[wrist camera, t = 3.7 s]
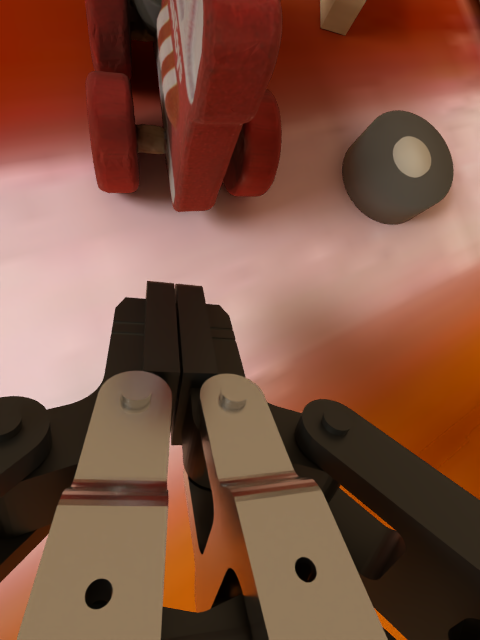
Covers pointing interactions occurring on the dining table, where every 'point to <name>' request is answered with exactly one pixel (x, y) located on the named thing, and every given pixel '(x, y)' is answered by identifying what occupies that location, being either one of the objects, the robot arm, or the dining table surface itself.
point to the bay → (339, 14)
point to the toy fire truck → (187, 95)
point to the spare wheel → (397, 168)
